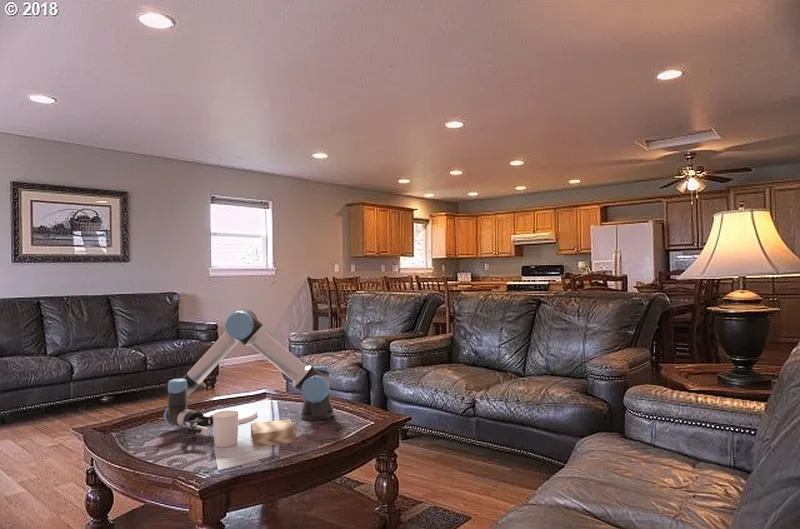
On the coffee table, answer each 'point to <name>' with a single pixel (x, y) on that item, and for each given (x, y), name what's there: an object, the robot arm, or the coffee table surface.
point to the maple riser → (273, 433)
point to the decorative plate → (243, 415)
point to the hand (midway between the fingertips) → (222, 427)
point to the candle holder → (225, 428)
